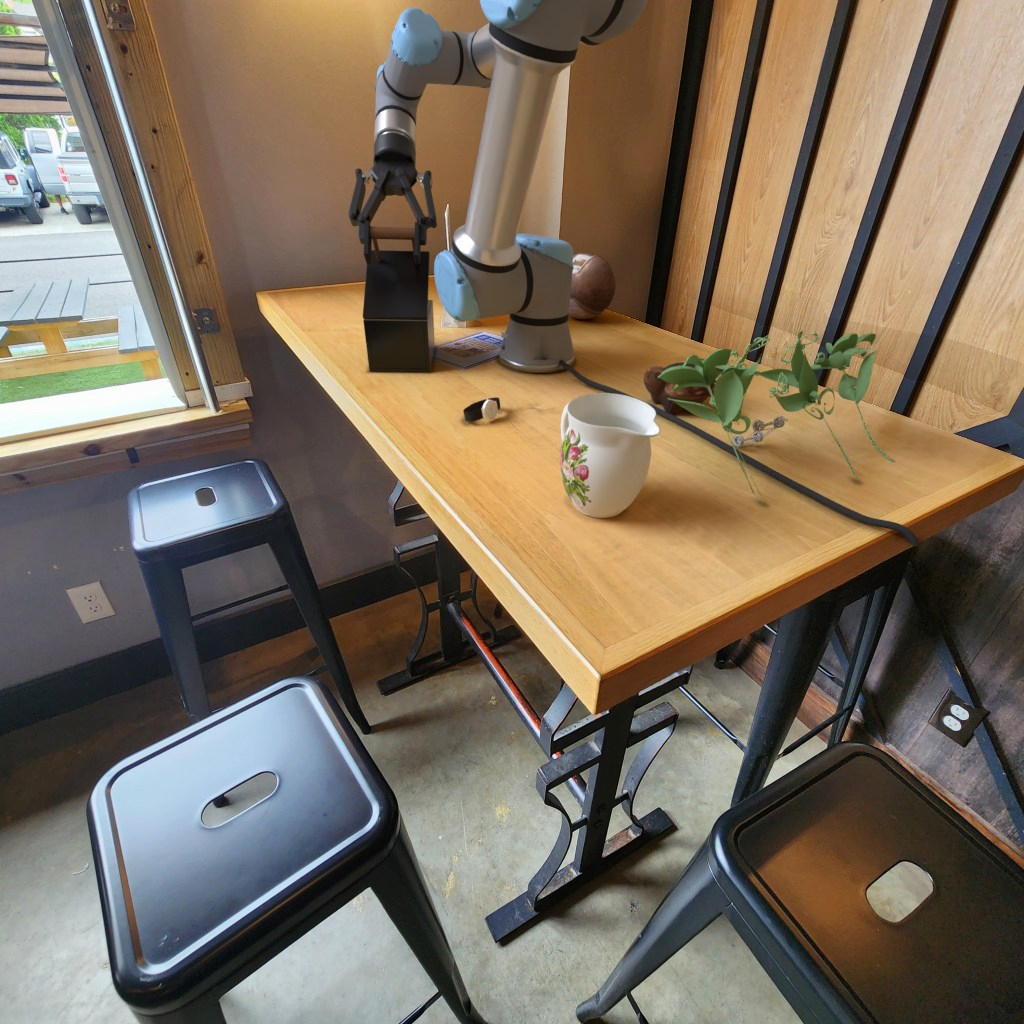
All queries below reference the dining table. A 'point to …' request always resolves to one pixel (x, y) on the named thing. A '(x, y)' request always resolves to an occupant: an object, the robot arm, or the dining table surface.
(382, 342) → the open box
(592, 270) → the wooden sphere
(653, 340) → the dining table surface
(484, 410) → the watch
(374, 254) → the bacon press
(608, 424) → the pitcher
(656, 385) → the decorative turtle
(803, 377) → the plant cuttings
